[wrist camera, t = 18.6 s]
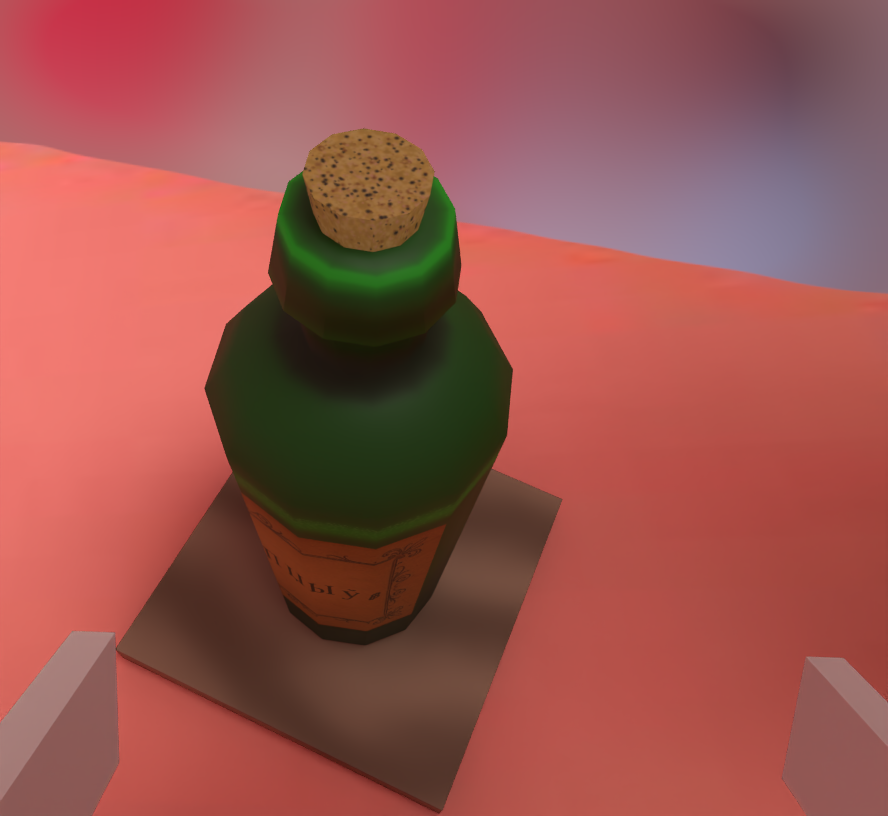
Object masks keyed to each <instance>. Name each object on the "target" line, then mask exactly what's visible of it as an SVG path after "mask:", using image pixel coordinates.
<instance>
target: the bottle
mask: <svg viewBox="0 0 888 816" xmlns="http://www.w3.org/2000/svg"><path fill="white" fill-rule="evenodd" d="M460 271H461V257H460V248H459V239H458V230H457V222H456V213H455V208H454V206H453V204H452V203H451V201H450V199H449V197H448V196H447V194H446V192H445V190H444V189H443V187H442V185H441V184H440V182H439V180H438V178H436V177H434V170H433V168H432V166H431V164H430V163H429V161H428V159H427V158H426V156H425V154H424V152H423V151H422V149H420V148H419V147H417V146H415V145H414V144H412V143H410V142H408V141H407V140H405V139H404V138H402V137H400V136H399V135H397V134H393V133H387V132H382V131H376V130H369V129H358V130H353V131H348V132H343V133H338V134H333V135H331V136H329V137H328V138H327V139H325V140H324V141H323V142H321V143H320V144H319V145H317V146H316V147H315V148H313V149H312V150H310V151H309V155H308V158H307V161H306V164H305V167H304V171H302V172H301V173H300V174H299V175H297V176H296V177H294V178H293V179H292V180H291V181H289V182H288V185H287V188H286V191H285V194H284V197H283V201H282V204H281V207H280V210H279V213H278V218H277V224H276V229H275V235H274V241H273V247H272V252H271V258H270V264H269V270H268V274H269V276H270V279H271V281H272V285H271V286H270V287H269V288H268V289H266V290H265V291H264V292H263V293H261V294H260V295H259V296H258V297H257V298H255V299H254V300H253V301H252V302H251V303H249V304H248V305H247V306H246V307H245V308H243V309H242V310H241V311H240V312H239V313H238V314H237V315H236V316H235V317H233V318H232V319H231V320H230V321H229V322H228V323H227V324H226V326H225V329H224V332H223V335H222V338H221V341H220V344H219V347H218V350H217V353H216V356H215V359H214V362H213V365H212V368H211V370H210V373H209V376H208V379H207V382H206V385H205V392H206V395H207V398H208V401H209V404H210V407H211V410H212V413H213V416H214V419H215V423H216V426H217V429H218V432H219V435H220V438H221V441H222V444H223V447H224V450H225V454H226V457H227V459H228V462H229V464H230V466H231V469H232V471H233V474H234V476H235V479H236V481H237V484H238V486H239V489H240V491H241V494H242V496H243V498H244V501H245V503H246V506H247V508H248V511H249V513H250V516H251V518H252V521H253V523H254V526H255V528H256V530H257V533H258V535H259V538H260V540H261V543H262V545H263V548H264V550H265V553H266V555H267V558H268V560H269V562H270V565H271V567H272V570H273V572H274V575H275V577H276V580H277V582H278V585H279V587H280V590H281V592H282V594H283V597H284V599H285V602H286V604H287V607H288V609H289V612H290V613H291V614H292V615H294V616H295V617H296V618H297V619H298V620H300V621H301V622H302V623H303V624H305V625H306V626H307V627H308V628H309V629H311V630H312V631H313V632H314V633H315V634H317V635H318V636H319V637H320V638H322V639H325V640H332V641H338V642H345V643H352V644H359V645H368V644H370V643H373V642H375V641H378V640H380V639H383V638H386V637H388V636H391V635H393V634H396V633H398V632H401V631H403V630H406V628H407V627H408V626H409V625H410V623H411V622H412V621H413V620H414V618H415V617H416V616H417V615H418V613H419V612H420V611H421V610H422V608H423V607H424V606H425V604H426V603H427V602H428V601H429V599H430V598H431V597H432V595H433V593H434V590H435V588H436V586H437V584H438V582H439V580H440V578H441V575H442V573H443V571H444V569H445V567H446V565H447V563H448V560H449V558H450V556H451V554H452V552H453V550H454V548H455V545H456V543H457V541H458V539H459V537H460V535H461V533H462V530H463V528H464V526H465V524H466V522H467V520H468V518H469V516H470V513H471V511H472V509H473V507H474V505H475V503H476V501H477V498H478V496H479V494H480V492H481V490H482V488H483V486H484V483H485V481H486V479H487V477H488V475H489V473H490V471H491V468H492V466H493V464H494V462H495V460H496V458H497V456H498V453H499V451H500V449H501V447H502V445H503V443H504V441H505V438H506V436H507V429H508V418H509V406H510V395H511V384H512V373H513V369H512V367H511V365H510V363H509V361H508V360H507V358H506V356H505V354H504V352H503V351H502V349H501V347H500V345H499V343H498V341H497V340H496V338H495V336H494V334H493V332H492V331H491V329H490V327H489V325H488V323H487V322H486V320H485V318H484V316H483V314H482V312H481V311H480V310H479V309H478V308H477V307H476V306H475V305H474V304H473V303H472V302H471V301H470V300H469V299H468V298H467V297H466V296H465V295H464V294H462V293H461V292H459V291H458V285H459V278H460Z"/></svg>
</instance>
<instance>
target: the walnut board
mask: <svg viewBox="0 0 888 816" xmlns="http://www.w3.org/2000/svg"><path fill="white" fill-rule="evenodd" d="M561 502H562V499H561V498H558V497H556V496H554V495H551V494H549V493H547V492H544V491H542V490H540V489H537V488H535V487H533V486H530V485H528V484H526V483H523V482H521V481H519V480H516V479H514V478H512V477H509V476H507V475H505V474H502V473H500V472H498V471H495V470H493V469H491V471H490V473H489V475H488V477H487V479H486V481H485V483H484V486H483V488H482V490H481V492H480V494H479V496H478V498H477V501H476V503H475V505H474V507H473V509H472V511H471V513H470V516H469V518H468V520H467V522H466V524H465V526H464V528H463V530H462V533H461V535H460V537H459V539H458V541H457V543H456V545H455V548H454V550H453V552H452V554H451V556H450V558H449V560H448V563H447V565H446V567H445V569H444V571H443V573H442V575H441V578H440V580H439V582H438V584H437V586H436V588H435V590H434V593H433V595H432V597H431V598H430V599H429V601H428V602H427V603H426V604H425V606H424V607H423V608H422V610H421V611H420V612H419V613H418V615H417V616H416V617H415V618H414V620H413V621H412V622H411V623H410V625H409V626H408V627H407V628H406V630H403V631H401V632H398V633H396V634H393V635H391V636H388V637H386V638H383V639H380V640H378V641H375V642H373V643H370V644H368V645H359V644H352V643H345V642H338V641H332V640H325V639H322V638H320V637H319V636H318V635H317V634H315V633H314V632H313V631H312V630H311V629H309V628H308V627H307V626H306V625H305V624H303V623H302V622H301V621H300V620H298V619H297V618H296V617H295V616H294V615H292V614H291V613H290V612H289V609H288V607H287V604H286V602H285V599H284V597H283V594H282V592H281V590H280V587H279V585H278V582H277V580H276V577H275V575H274V572H273V570H272V567H271V565H270V562H269V560H268V558H267V555H266V553H265V550H264V548H263V545H262V543H261V540H260V538H259V535H258V533H257V530H256V528H255V526H254V523H253V521H252V518H251V516H250V513H249V511H248V508H247V506H246V503H245V501H244V498H243V496H242V494H241V491H240V489H239V486H238V484H237V481H236V479H235V476H234V474H233V472H232V474H231V475H230V477H229V478H228V480H227V481H226V483H225V485H224V486H223V488H222V489H221V491H220V492H219V494H218V495H217V497H216V498H215V500H214V501H213V503H212V504H211V506H210V507H209V509H208V510H207V512H206V513H205V515H204V516H203V518H202V519H201V521H200V522H199V524H198V525H197V527H196V528H195V530H194V531H193V533H192V534H191V536H190V537H189V539H188V540H187V542H186V543H185V545H184V546H183V548H182V549H181V551H180V552H179V554H178V555H177V557H176V559H175V560H174V562H173V563H172V565H171V566H170V568H169V569H168V571H167V572H166V574H165V575H164V577H163V578H162V580H161V581H160V583H159V584H158V586H157V587H156V589H155V590H154V592H153V593H152V595H151V596H150V598H149V599H148V601H147V602H146V604H145V605H144V607H143V608H142V610H141V611H140V613H139V614H138V616H137V617H136V619H135V620H134V622H133V623H132V625H131V626H130V628H129V629H128V631H127V633H126V634H125V636H124V637H123V639H122V640H121V642H120V643H119V645H118V646H117V648H116V651H117V652H118V653H119V654H120V655H121V656H122V657H123V658H126V659H128V660H130V661H132V662H134V663H136V664H138V665H140V666H142V667H144V668H146V669H148V670H150V671H152V672H154V673H156V674H158V675H160V676H162V677H164V678H166V679H168V680H170V681H172V682H174V683H176V684H178V685H180V686H182V687H184V688H186V689H188V690H190V691H192V692H194V693H196V694H198V695H200V696H202V697H204V698H206V699H209V700H211V701H213V702H215V703H217V704H219V705H221V706H223V707H225V708H227V709H229V710H231V711H233V712H235V713H237V714H239V715H241V716H243V717H245V718H247V719H249V720H251V721H253V722H255V723H257V724H259V725H261V726H263V727H265V728H267V729H269V730H271V731H273V732H275V733H277V734H279V735H281V736H283V737H285V738H287V739H289V740H292V741H294V742H296V743H298V744H300V745H302V746H304V747H306V748H308V749H310V750H312V751H314V752H316V753H318V754H320V755H322V756H324V757H326V758H328V759H330V760H332V761H334V762H336V763H338V764H340V765H342V766H344V767H346V768H348V769H350V770H352V771H354V772H356V773H358V774H360V775H362V776H364V777H366V778H368V779H370V780H372V781H374V782H377V783H379V784H381V785H383V786H385V787H387V788H389V789H391V790H393V791H395V792H397V793H399V794H401V795H403V796H405V797H407V798H409V799H411V800H413V801H415V802H417V803H419V804H421V805H423V806H425V807H427V808H429V809H431V810H433V811H435V812H437V813H440V812H441V811H442V810H443V808H444V805H445V802H446V800H447V797H448V795H449V792H450V789H451V787H452V784H453V782H454V779H455V776H456V774H457V771H458V769H459V766H460V763H461V761H462V758H463V756H464V753H465V750H466V748H467V745H468V743H469V740H470V738H471V735H472V732H473V730H474V727H475V725H476V722H477V719H478V717H479V714H480V712H481V709H482V706H483V704H484V701H485V699H486V696H487V693H488V691H489V688H490V686H491V683H492V681H493V678H494V675H495V673H496V670H497V668H498V665H499V662H500V660H501V657H502V655H503V652H504V649H505V647H506V644H507V642H508V639H509V636H510V634H511V631H512V629H513V626H514V624H515V621H516V618H517V616H518V613H519V611H520V608H521V605H522V603H523V600H524V598H525V595H526V592H527V590H528V587H529V585H530V582H531V579H532V577H533V574H534V572H535V569H536V566H537V564H538V561H539V559H540V556H541V554H542V551H543V548H544V546H545V543H546V541H547V538H548V535H549V533H550V530H551V528H552V525H553V522H554V520H555V517H556V515H557V512H558V509H559V507H560V504H561Z"/></svg>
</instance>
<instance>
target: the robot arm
mask: <svg viewBox="0 0 888 816" xmlns="http://www.w3.org/2000/svg"><path fill="white" fill-rule="evenodd" d="M118 764H119V738H118V706H117V674H116V642H115V632H87V631H72V632H71V633H70V635H69V636H68V637H67V638H66V640H65V641H64V642H63V643H62V645H61V646H60V647H59V649H58V650H57V651H56V652H55V654H54V655H53V656H52V657H51V659H50V660H49V661H48V663H47V664H46V665H45V666H44V668H43V669H42V670H41V671H40V673H39V674H38V675H37V677H36V678H35V679H34V680H33V682H32V683H31V684H30V686H29V687H28V688H27V689H26V691H25V692H24V693H23V694H22V696H21V697H20V698H19V700H18V701H17V702H16V703H15V705H14V706H13V707H12V708H11V710H10V711H9V712H8V714H7V715H6V716H5V717H4V719H3V720H2V721H1V722H0V816H92V815H93V813H94V811H95V809H96V807H97V805H98V803H99V801H100V799H101V797H102V795H103V793H104V791H105V789H106V787H107V785H108V783H109V781H110V779H111V777H112V776H113V774H114V772H115V770H116V768H117V766H118ZM782 779H783V781H784V782H785V784H786V785H787V787H788V788H789V790H790V791H791V793H792V794H793V796H794V797H795V799H796V800H797V802H798V803H799V805H800V806H801V808H802V809H803V811H804V812H805V814H806V815H807V816H888V702H887V701H886V700H885V699H884V698H883V697H882V696H881V695H880V694H879V693H878V692H877V691H876V690H875V689H874V688H873V687H872V686H871V685H870V684H869V683H868V682H867V681H866V680H865V679H864V678H863V677H862V676H861V675H860V674H859V673H858V672H857V671H856V670H855V669H854V668H853V667H852V666H851V665H850V664H849V663H848V662H847V661H846V660H845V659H844V658H832V657H806V658H805V663H804V668H803V673H802V678H801V683H800V688H799V693H798V698H797V703H796V709H795V714H794V719H793V724H792V729H791V734H790V739H789V744H788V749H787V754H786V759H785V764H784V769H783V775H782Z"/></svg>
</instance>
